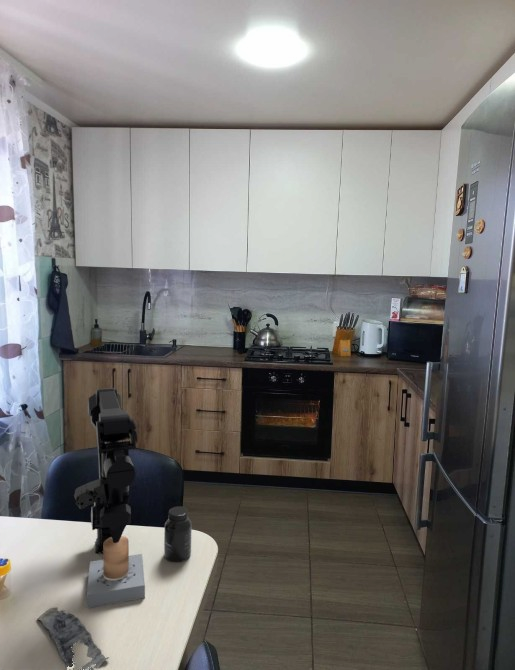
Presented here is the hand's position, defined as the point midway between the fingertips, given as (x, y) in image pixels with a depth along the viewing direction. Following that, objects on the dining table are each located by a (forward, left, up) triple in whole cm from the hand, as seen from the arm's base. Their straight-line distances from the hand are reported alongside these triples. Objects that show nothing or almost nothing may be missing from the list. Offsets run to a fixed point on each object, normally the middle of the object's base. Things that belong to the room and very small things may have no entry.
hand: (116, 535), depth 102 cm
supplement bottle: (-8, +15, -12) cm, 21 cm away
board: (0, 0, -12) cm, 12 cm away
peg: (0, 0, -12) cm, 12 cm away
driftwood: (+14, -9, -13) cm, 21 cm away
